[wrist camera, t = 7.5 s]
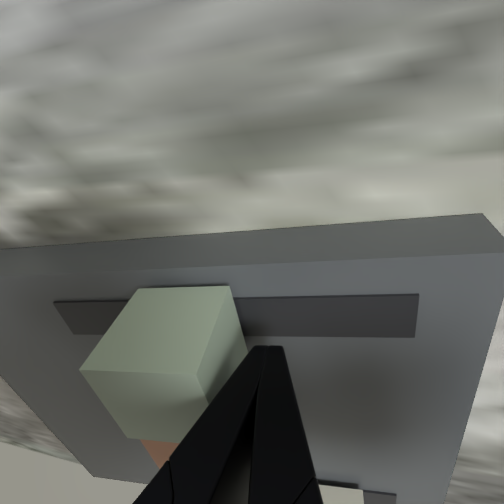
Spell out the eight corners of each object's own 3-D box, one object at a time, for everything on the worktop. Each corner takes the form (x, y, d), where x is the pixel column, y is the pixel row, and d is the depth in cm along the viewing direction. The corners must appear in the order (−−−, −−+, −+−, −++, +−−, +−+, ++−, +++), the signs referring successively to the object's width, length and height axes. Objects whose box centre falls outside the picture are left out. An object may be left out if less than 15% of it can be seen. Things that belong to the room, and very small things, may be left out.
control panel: (482, 213, 9) (518, 254, 7) (426, 478, 17) (438, 527, 16) (-40, 252, 14) (-90, 282, 12) (109, 444, 22) (92, 478, 21)
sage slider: (229, 285, 9) (196, 374, 7) (249, 355, 11) (227, 447, 8) (137, 288, 10) (78, 369, 8) (168, 353, 12) (127, 437, 9)
